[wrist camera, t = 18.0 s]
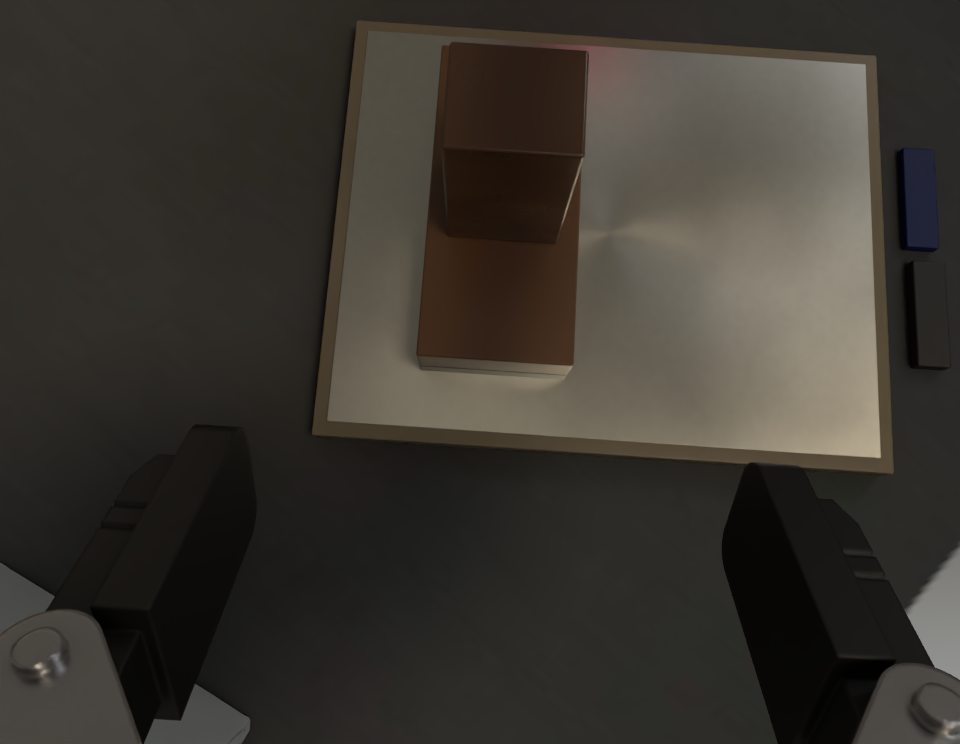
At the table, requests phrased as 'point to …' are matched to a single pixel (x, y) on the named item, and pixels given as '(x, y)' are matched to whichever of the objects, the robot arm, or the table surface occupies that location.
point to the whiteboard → (638, 262)
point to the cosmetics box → (194, 740)
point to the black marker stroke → (928, 315)
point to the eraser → (504, 212)
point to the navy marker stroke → (918, 200)
